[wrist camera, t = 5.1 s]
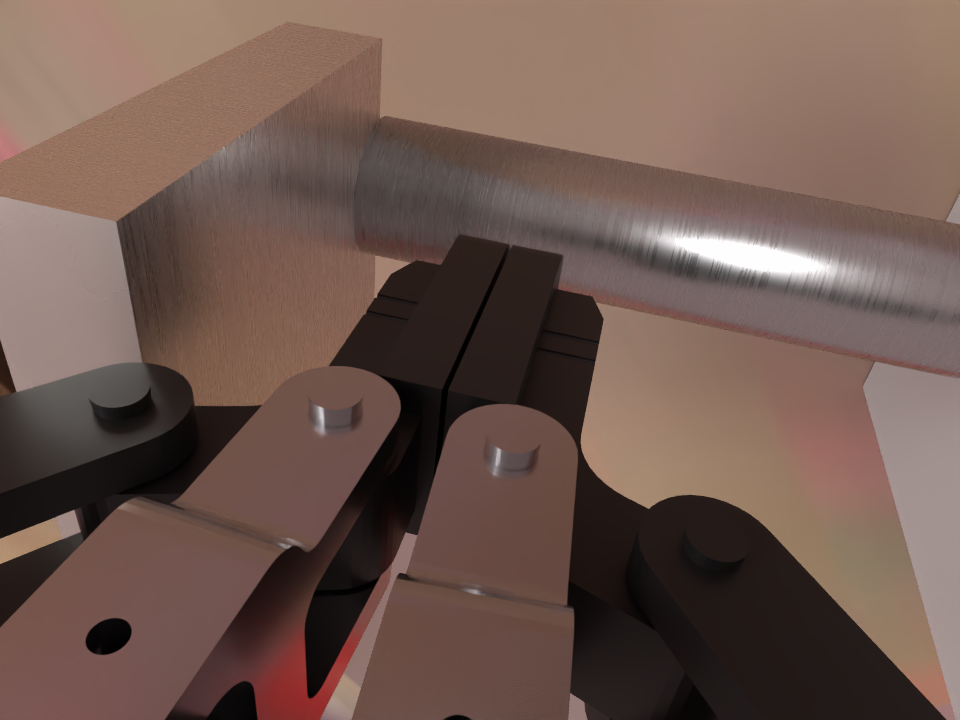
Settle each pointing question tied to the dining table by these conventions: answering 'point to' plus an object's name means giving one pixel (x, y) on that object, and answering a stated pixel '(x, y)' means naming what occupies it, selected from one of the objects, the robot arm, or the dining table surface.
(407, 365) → the robot arm
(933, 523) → the block
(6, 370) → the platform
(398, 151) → the shaft
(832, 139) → the dining table surface
